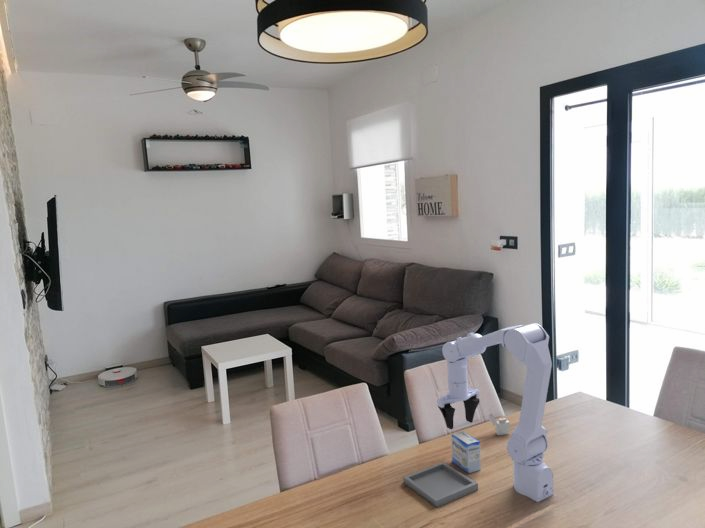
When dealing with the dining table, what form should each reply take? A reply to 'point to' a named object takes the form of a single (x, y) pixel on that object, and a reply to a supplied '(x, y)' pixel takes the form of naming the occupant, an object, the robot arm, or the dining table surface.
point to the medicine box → (466, 452)
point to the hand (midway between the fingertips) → (459, 424)
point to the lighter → (500, 425)
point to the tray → (440, 484)
